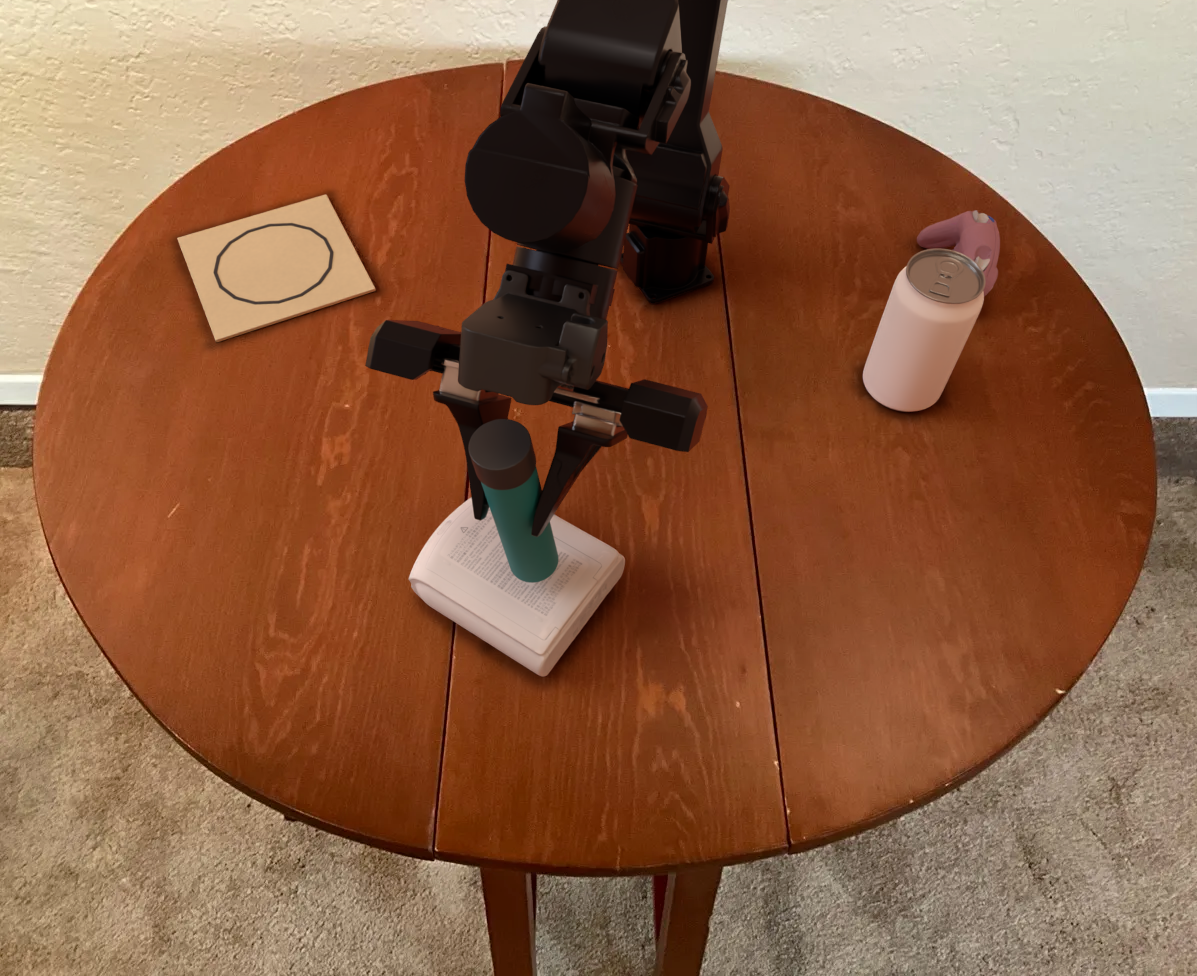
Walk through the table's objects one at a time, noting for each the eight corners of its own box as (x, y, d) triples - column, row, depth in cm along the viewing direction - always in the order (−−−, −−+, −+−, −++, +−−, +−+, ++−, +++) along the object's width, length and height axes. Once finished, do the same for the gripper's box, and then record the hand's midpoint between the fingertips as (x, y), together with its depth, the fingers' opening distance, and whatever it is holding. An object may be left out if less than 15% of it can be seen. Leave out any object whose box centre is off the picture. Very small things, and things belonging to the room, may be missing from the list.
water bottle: (564, 541, 63) (536, 421, 52) (554, 587, 61) (523, 472, 50) (514, 535, 64) (476, 415, 53) (502, 581, 62) (461, 466, 51)
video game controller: (950, 334, 84) (1013, 286, 79) (909, 310, 83) (970, 260, 78) (950, 258, 90) (1009, 208, 84) (912, 234, 89) (969, 182, 83)
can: (949, 370, 80) (1000, 260, 70) (930, 425, 77) (981, 318, 67) (873, 345, 81) (913, 234, 72) (851, 398, 78) (889, 289, 68)
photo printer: (626, 575, 69) (486, 497, 72) (628, 543, 65) (481, 463, 69) (544, 689, 64) (398, 599, 67) (541, 662, 60) (388, 568, 64)
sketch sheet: (326, 196, 91) (326, 193, 91) (375, 290, 84) (375, 287, 84) (178, 240, 88) (176, 237, 88) (216, 342, 81) (215, 339, 81)
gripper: (344, 203, 47) (291, 508, 50) (718, 291, 44) (636, 611, 47) (432, 227, 58) (384, 477, 61) (737, 299, 54) (669, 559, 58)
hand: (507, 526), depth 56 cm, fingers closed on water bottle, 3 cm apart
